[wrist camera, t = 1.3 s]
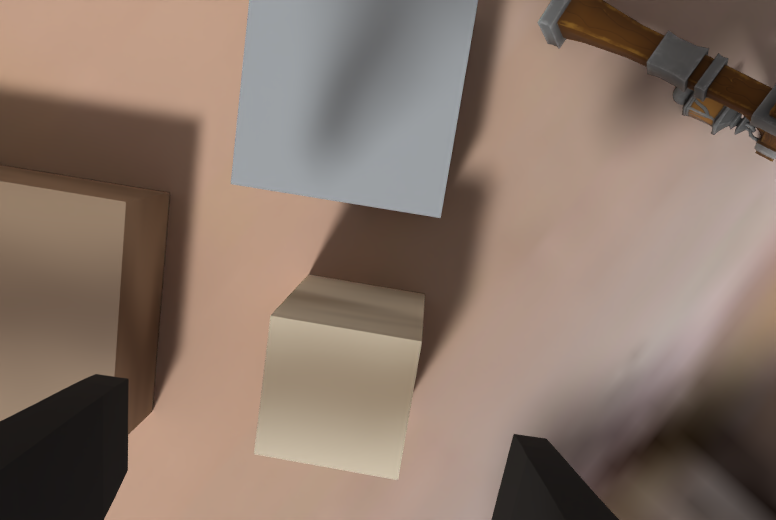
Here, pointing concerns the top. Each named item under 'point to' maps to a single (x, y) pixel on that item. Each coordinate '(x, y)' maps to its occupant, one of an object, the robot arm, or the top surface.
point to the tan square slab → (78, 286)
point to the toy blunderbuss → (672, 67)
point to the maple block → (340, 376)
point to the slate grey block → (353, 99)
